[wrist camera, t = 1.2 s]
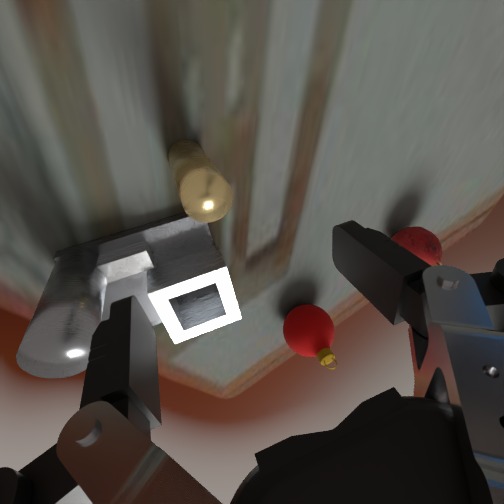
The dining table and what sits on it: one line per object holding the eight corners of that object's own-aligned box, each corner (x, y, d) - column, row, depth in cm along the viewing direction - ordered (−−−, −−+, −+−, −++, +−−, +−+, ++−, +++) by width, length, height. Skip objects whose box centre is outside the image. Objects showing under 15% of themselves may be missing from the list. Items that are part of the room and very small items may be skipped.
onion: (383, 220, 38) (432, 250, 31) (416, 215, 39) (469, 243, 33) (372, 255, 41) (414, 290, 34) (403, 249, 42) (449, 281, 36)
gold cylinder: (198, 135, 25) (226, 167, 17) (207, 170, 26) (237, 214, 19) (162, 145, 24) (174, 182, 16) (175, 179, 26) (190, 228, 18)
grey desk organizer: (204, 204, 28) (233, 267, 19) (229, 290, 35) (260, 364, 26) (47, 252, 26) (-2, 349, 17) (109, 334, 33) (98, 432, 24)
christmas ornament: (319, 289, 41) (363, 342, 33) (315, 322, 45) (353, 376, 37) (275, 301, 39) (309, 360, 31) (275, 334, 43) (305, 394, 35)
